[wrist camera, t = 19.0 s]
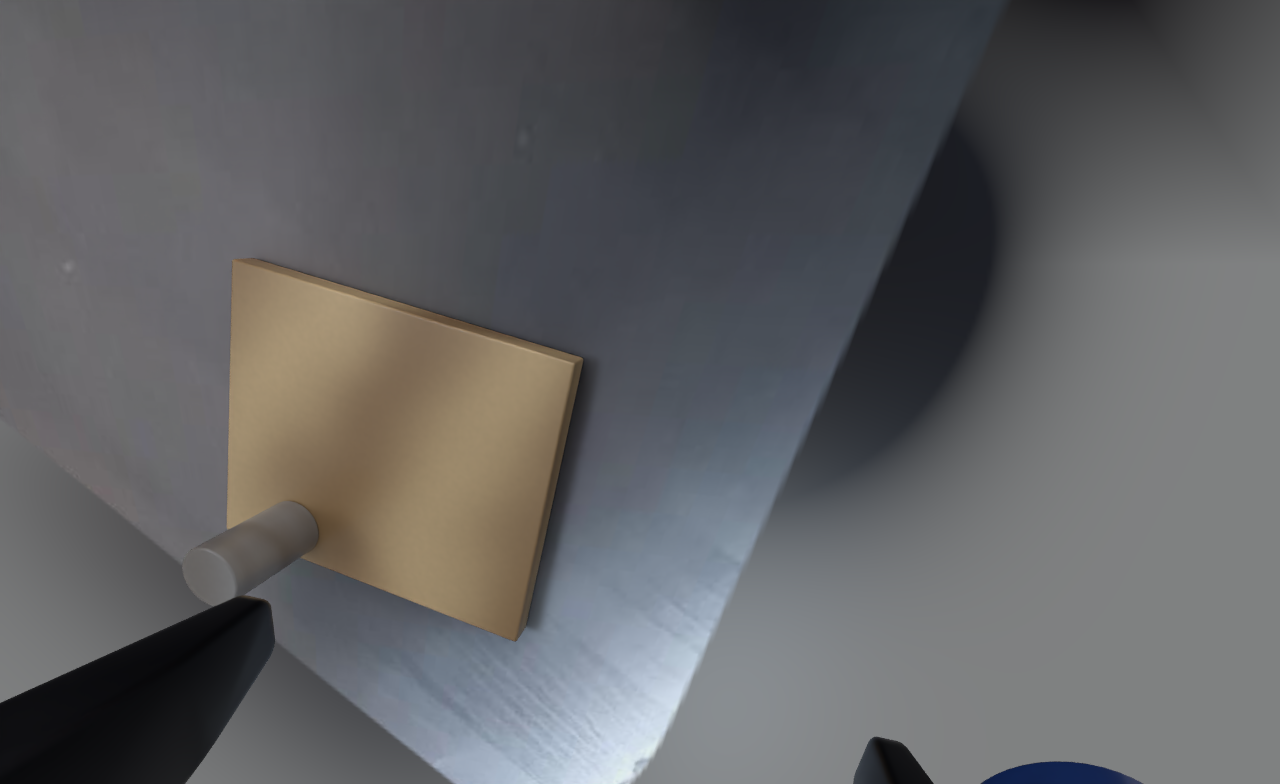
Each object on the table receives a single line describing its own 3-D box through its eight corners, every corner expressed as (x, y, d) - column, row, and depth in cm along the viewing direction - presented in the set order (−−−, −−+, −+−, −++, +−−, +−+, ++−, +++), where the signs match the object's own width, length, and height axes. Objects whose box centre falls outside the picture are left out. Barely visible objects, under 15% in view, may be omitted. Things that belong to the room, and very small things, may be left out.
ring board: (584, 357, 21) (526, 394, 16) (526, 627, 25) (464, 720, 20) (253, 257, 23) (118, 264, 19) (245, 519, 27) (130, 579, 22)
